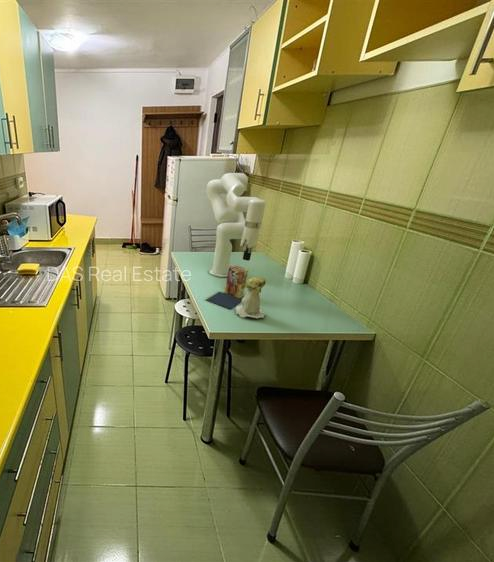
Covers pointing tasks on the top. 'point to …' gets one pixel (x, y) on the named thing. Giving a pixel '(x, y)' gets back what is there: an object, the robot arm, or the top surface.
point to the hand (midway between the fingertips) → (246, 259)
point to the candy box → (236, 281)
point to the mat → (224, 300)
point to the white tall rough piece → (252, 299)
